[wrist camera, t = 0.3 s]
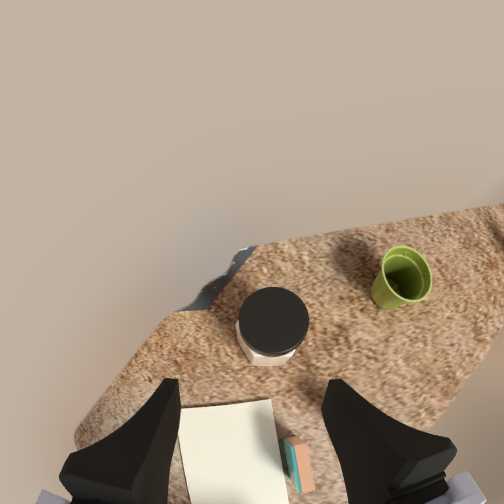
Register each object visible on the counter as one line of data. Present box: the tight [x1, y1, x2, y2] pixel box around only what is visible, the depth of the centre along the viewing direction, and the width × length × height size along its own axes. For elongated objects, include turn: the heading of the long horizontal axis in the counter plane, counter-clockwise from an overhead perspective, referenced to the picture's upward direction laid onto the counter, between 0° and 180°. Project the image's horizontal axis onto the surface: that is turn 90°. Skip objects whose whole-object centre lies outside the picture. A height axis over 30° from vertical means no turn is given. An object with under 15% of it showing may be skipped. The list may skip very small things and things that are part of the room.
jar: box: [236, 287, 309, 366], centre depth 37 cm, size 9×8×12 cm
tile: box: [283, 436, 315, 493], centre depth 30 cm, size 7×2×8 cm, turn 9°
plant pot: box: [371, 246, 432, 310], centre depth 43 cm, size 9×9×9 cm
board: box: [178, 399, 289, 504], centre depth 32 cm, size 20×14×1 cm
